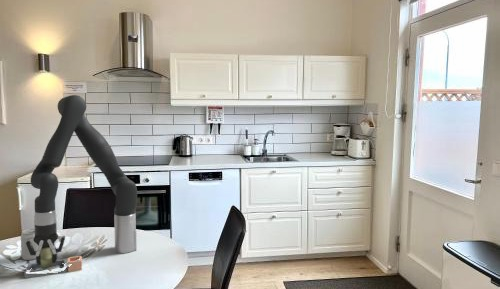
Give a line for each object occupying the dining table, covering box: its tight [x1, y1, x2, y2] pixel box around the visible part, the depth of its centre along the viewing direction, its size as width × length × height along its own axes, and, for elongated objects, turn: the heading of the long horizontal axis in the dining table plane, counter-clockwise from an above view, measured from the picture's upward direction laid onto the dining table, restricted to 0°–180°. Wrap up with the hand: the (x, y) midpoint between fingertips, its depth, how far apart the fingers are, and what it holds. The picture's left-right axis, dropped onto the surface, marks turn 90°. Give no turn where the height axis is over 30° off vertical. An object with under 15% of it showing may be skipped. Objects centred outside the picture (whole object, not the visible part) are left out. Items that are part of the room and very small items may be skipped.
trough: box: [24, 258, 68, 279], centre depth 142 cm, size 14×9×2 cm, turn 114°
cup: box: [67, 255, 83, 273], centre depth 144 cm, size 5×5×4 cm
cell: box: [40, 247, 54, 270], centre depth 141 cm, size 4×4×9 cm
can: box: [20, 228, 38, 261], centre depth 153 cm, size 8×8×12 cm
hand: (46, 263), depth 142 cm, fingers closed on cell, 4 cm apart
